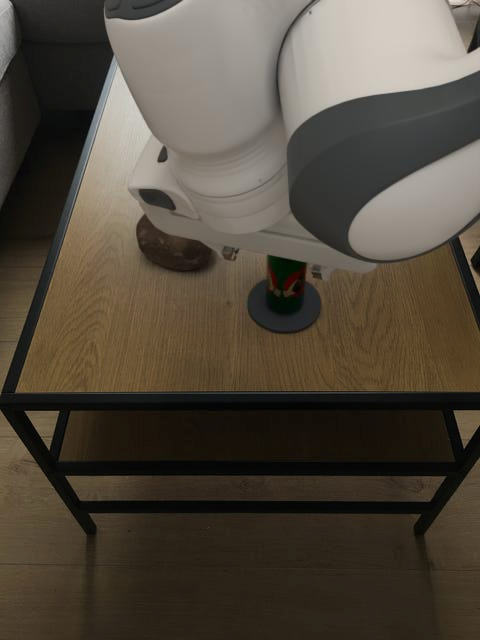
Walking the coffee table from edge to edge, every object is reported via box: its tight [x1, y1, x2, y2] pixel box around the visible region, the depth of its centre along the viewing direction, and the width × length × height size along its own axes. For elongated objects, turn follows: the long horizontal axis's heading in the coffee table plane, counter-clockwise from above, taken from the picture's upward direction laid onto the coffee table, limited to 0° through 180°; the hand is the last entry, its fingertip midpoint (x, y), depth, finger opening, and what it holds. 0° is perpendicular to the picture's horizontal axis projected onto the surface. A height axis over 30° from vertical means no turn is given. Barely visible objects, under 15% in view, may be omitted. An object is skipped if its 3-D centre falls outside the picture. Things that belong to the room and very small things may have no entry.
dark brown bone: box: [135, 213, 214, 272], centre depth 83 cm, size 11×10×28 cm
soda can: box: [265, 254, 308, 314], centre depth 68 cm, size 5×5×12 cm
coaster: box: [246, 278, 323, 335], centre depth 73 cm, size 10×10×1 cm
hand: (275, 263), depth 51 cm, fingers open, 8 cm apart
